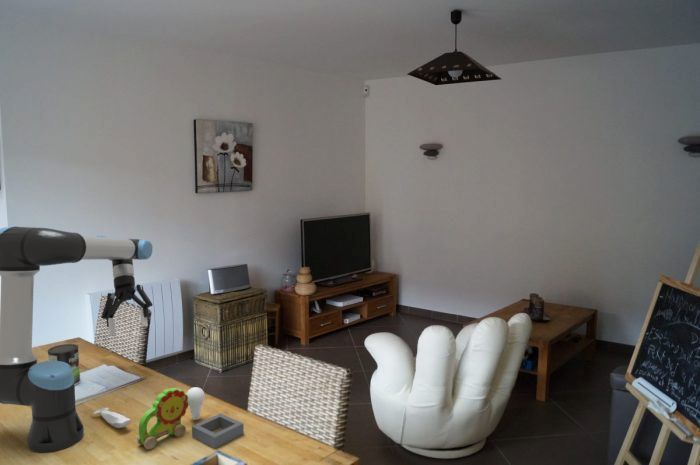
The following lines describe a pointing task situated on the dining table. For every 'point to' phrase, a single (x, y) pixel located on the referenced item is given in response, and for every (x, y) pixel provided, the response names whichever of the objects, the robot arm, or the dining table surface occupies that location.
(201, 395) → the lightbulb
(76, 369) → the coffee can
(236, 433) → the frame
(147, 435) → the toy lion
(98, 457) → the dining table surface
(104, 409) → the white fish figurine
